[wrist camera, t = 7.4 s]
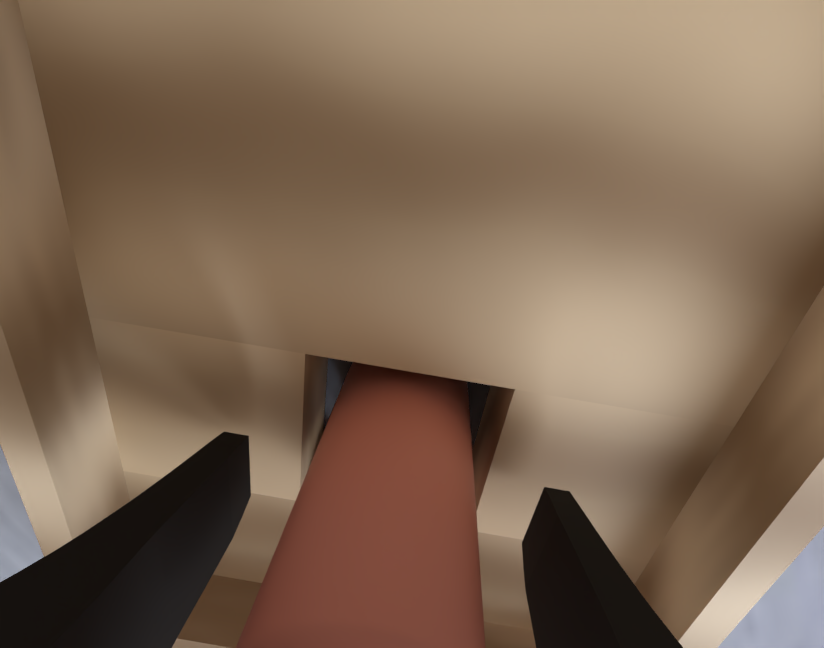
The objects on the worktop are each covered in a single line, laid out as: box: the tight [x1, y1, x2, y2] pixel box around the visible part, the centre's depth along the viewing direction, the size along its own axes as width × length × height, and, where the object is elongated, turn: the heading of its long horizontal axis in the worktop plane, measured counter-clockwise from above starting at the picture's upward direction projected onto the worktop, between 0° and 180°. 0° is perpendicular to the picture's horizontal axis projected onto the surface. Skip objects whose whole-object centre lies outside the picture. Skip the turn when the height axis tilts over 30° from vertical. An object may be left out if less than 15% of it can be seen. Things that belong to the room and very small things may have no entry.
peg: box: [236, 362, 485, 648], centre depth 10 cm, size 4×4×8 cm
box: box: [0, 0, 824, 648], centre depth 11 cm, size 20×18×4 cm
